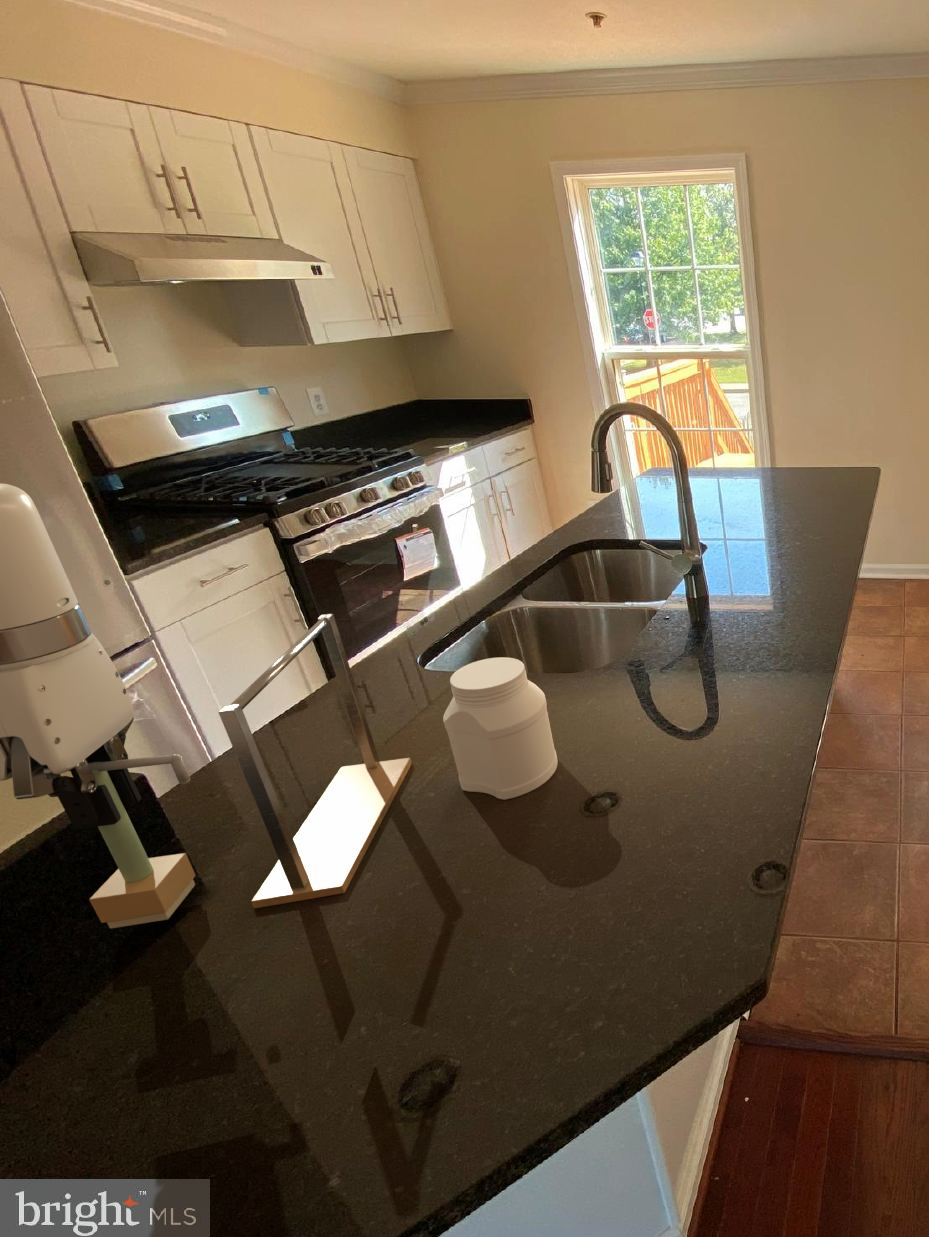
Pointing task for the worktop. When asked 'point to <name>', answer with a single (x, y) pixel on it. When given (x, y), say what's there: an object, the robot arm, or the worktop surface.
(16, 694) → the robot arm
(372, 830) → the metal frame rack
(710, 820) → the worktop surface
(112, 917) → the hook stand
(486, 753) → the jar
